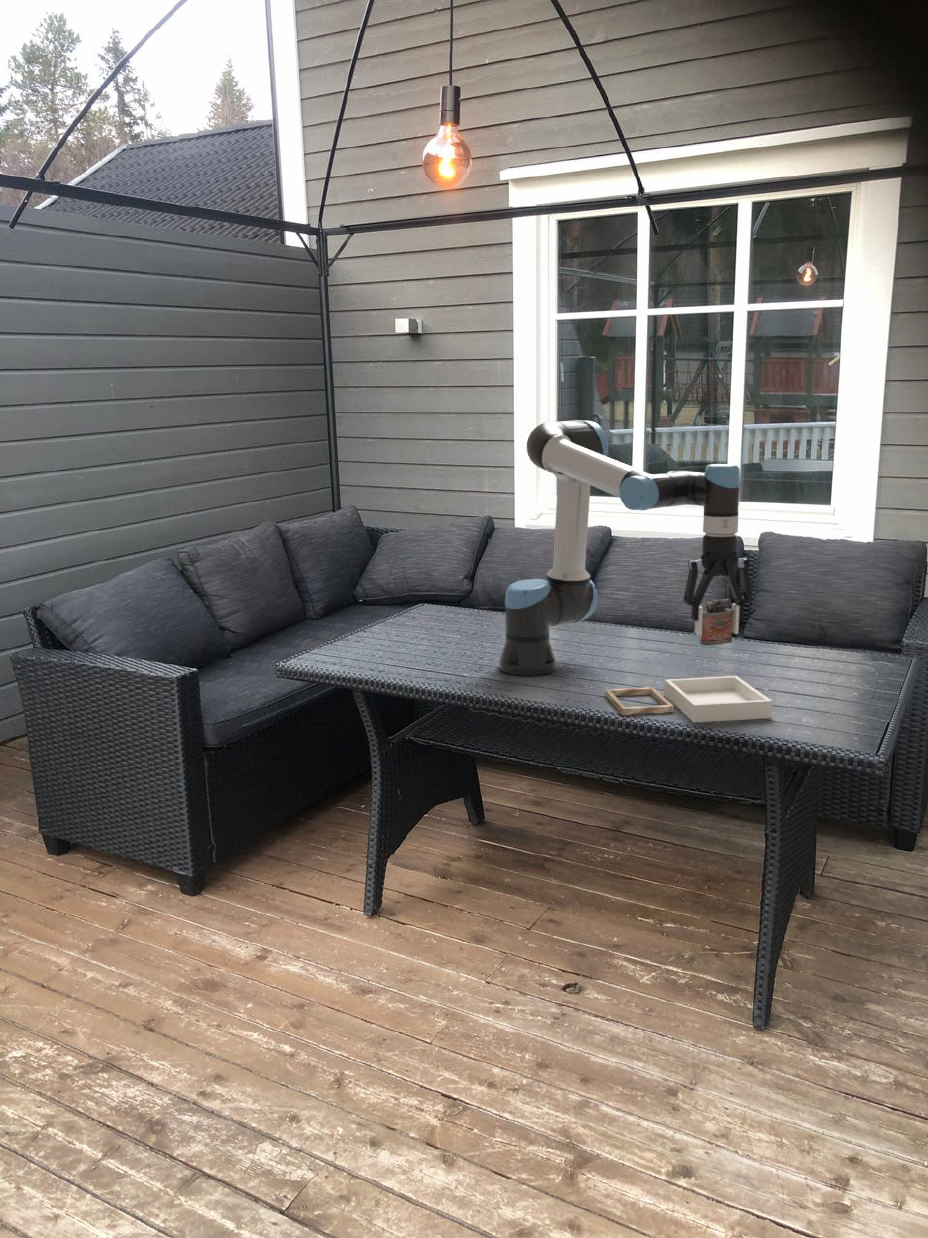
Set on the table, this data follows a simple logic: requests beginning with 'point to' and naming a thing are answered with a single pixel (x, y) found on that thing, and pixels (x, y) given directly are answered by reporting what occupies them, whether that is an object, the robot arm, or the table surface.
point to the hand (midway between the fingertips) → (716, 633)
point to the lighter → (716, 623)
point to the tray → (717, 699)
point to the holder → (664, 707)
